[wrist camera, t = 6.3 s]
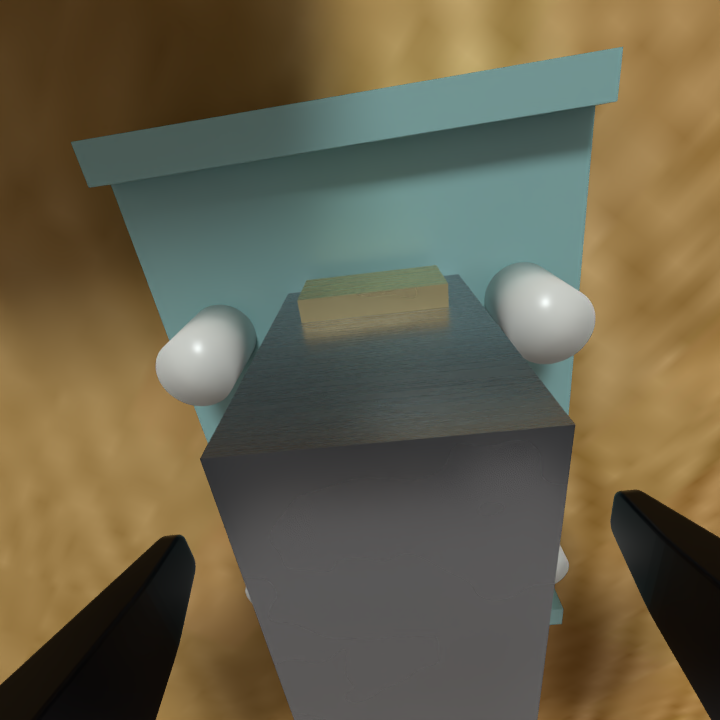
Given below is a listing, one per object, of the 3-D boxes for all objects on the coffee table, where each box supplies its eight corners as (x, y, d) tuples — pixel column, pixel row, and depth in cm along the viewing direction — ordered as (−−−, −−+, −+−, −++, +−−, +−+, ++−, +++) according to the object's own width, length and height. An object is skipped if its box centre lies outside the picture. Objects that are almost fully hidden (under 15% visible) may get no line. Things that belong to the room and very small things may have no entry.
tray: (575, 66, 9) (669, 27, 6) (541, 575, 16) (577, 662, 13) (120, 143, 9) (24, 140, 7) (280, 598, 16) (264, 685, 14)
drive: (458, 254, 10) (581, 387, 4) (463, 545, 14) (528, 801, 8) (284, 275, 10) (185, 425, 4) (340, 554, 14) (325, 807, 9)
